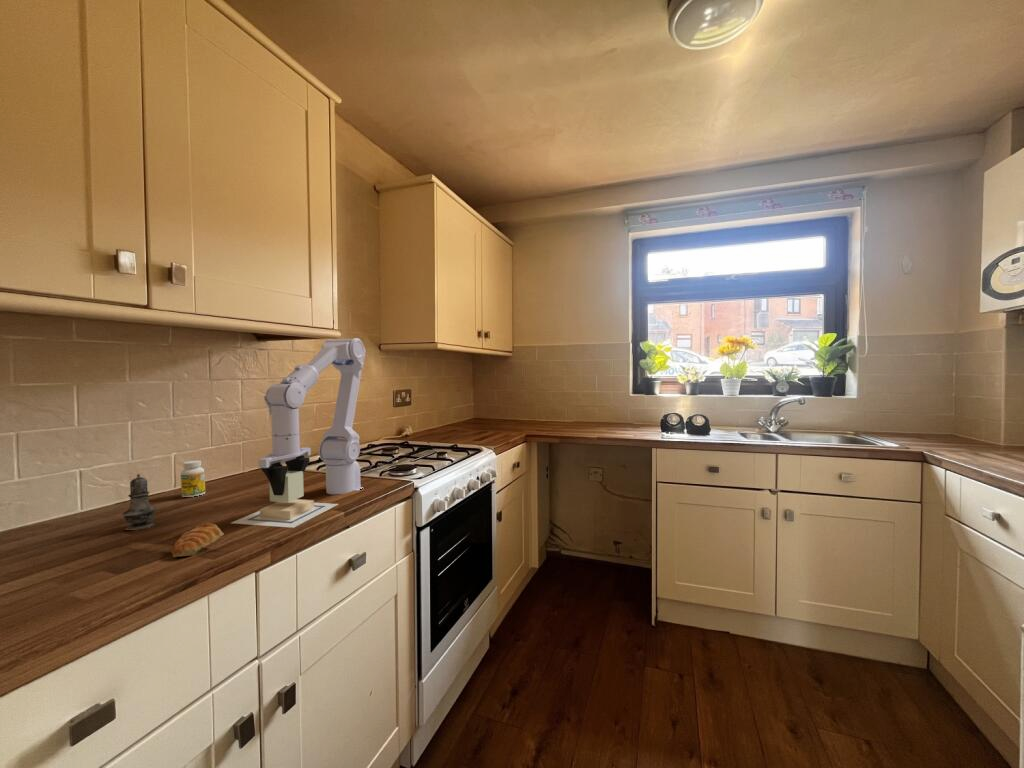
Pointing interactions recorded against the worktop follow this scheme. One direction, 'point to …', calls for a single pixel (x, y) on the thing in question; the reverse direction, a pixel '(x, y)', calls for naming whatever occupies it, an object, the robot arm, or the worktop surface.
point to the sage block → (290, 487)
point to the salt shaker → (139, 505)
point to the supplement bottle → (192, 479)
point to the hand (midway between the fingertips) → (287, 491)
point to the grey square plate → (256, 520)
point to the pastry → (196, 540)
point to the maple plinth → (287, 509)
